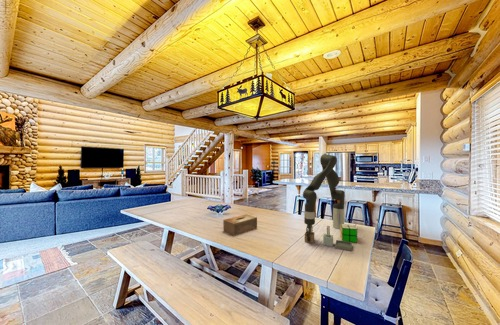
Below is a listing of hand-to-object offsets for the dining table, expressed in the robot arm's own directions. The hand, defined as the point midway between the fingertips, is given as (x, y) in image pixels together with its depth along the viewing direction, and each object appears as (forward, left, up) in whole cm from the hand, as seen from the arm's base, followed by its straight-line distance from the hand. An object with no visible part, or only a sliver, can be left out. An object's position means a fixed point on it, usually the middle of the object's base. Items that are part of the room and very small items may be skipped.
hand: (309, 239), depth 150 cm
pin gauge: (0, +13, 0) cm, 13 cm away
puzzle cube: (-16, +26, -1) cm, 31 cm away
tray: (0, +23, -1) cm, 23 cm away
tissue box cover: (+1, -58, -2) cm, 58 cm away
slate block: (0, +13, -1) cm, 13 cm away
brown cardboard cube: (0, 0, -1) cm, 1 cm away
